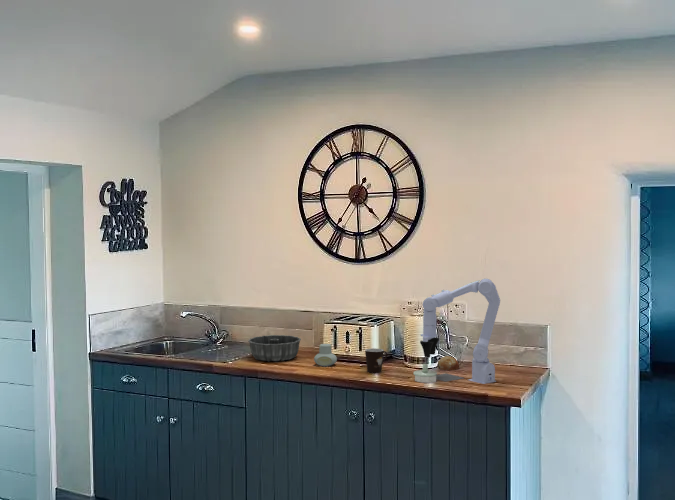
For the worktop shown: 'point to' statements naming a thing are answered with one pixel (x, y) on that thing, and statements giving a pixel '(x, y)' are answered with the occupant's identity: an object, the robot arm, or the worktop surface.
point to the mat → (447, 377)
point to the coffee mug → (374, 360)
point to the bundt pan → (274, 347)
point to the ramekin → (425, 379)
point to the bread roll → (448, 363)
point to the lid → (425, 372)
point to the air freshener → (325, 356)
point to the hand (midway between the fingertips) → (429, 355)
